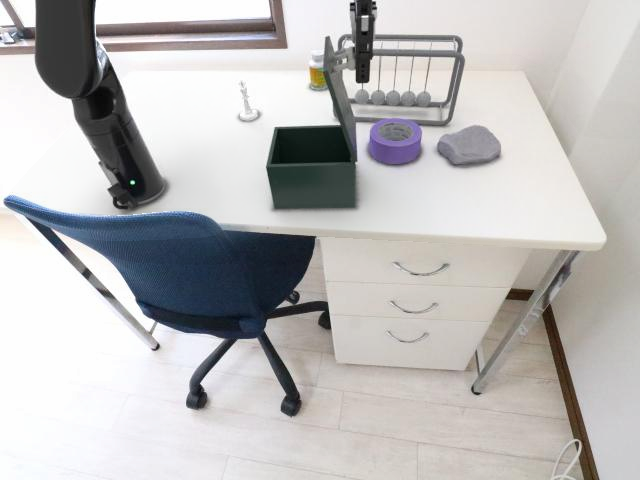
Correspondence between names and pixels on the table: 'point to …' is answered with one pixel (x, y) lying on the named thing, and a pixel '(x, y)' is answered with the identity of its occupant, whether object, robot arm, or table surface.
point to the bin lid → (341, 91)
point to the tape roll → (395, 150)
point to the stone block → (469, 145)
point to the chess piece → (246, 105)
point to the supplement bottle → (317, 70)
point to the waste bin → (310, 168)
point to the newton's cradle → (408, 96)
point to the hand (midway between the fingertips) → (361, 71)
